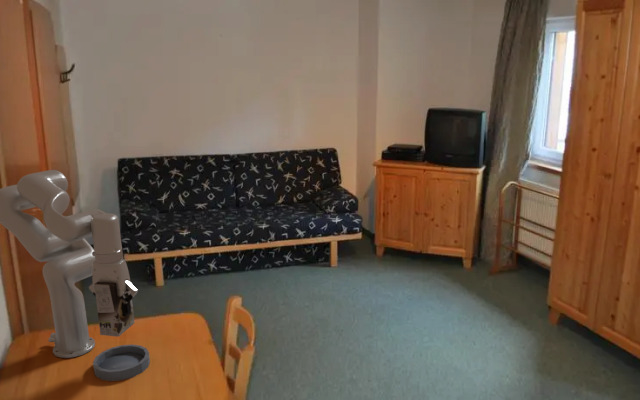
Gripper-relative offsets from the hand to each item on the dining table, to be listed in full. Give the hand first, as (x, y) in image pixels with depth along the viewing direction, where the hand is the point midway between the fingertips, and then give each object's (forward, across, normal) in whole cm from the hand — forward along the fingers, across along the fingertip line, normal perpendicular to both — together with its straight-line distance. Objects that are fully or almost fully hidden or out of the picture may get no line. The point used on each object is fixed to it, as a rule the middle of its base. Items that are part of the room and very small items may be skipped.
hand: (116, 313), depth 168 cm
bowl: (+18, 0, 0) cm, 18 cm away
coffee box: (+5, 0, 0) cm, 5 cm away
